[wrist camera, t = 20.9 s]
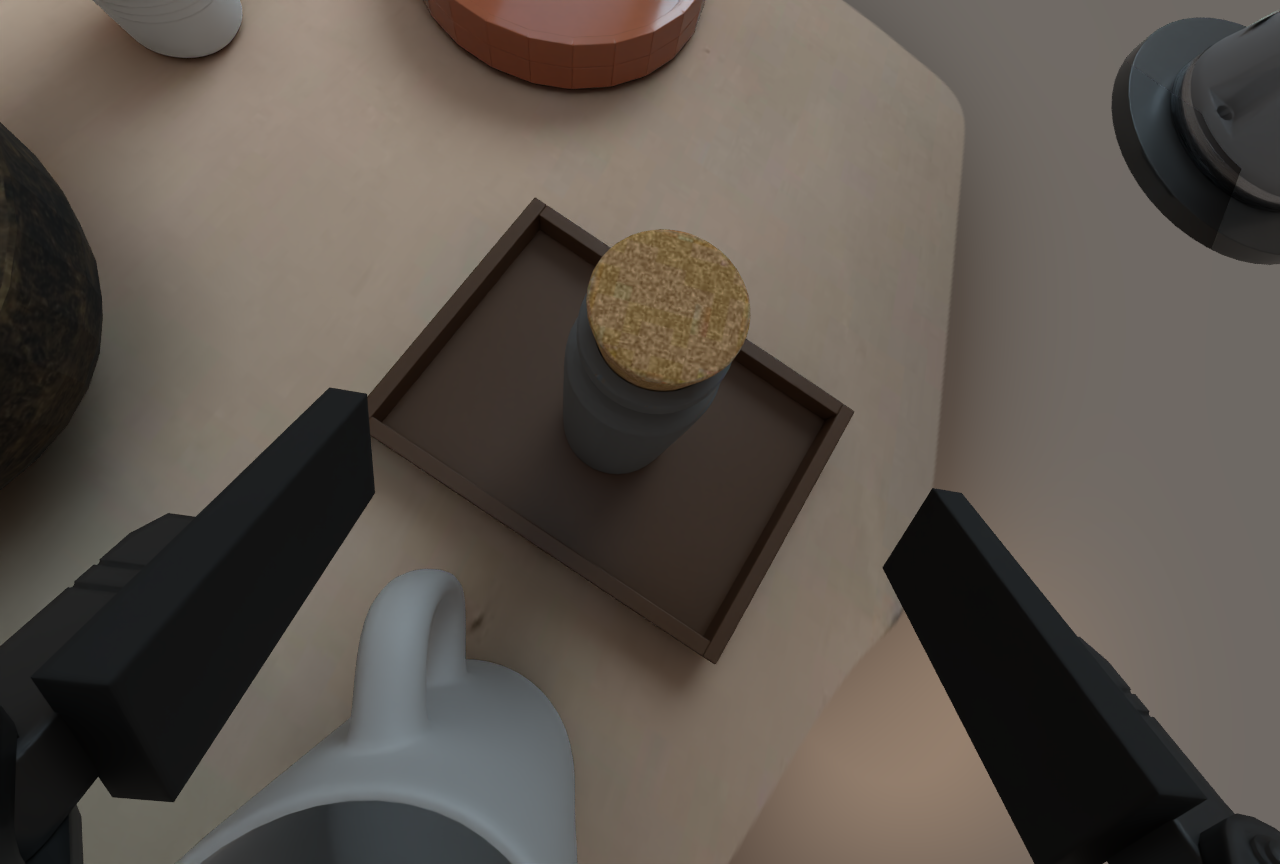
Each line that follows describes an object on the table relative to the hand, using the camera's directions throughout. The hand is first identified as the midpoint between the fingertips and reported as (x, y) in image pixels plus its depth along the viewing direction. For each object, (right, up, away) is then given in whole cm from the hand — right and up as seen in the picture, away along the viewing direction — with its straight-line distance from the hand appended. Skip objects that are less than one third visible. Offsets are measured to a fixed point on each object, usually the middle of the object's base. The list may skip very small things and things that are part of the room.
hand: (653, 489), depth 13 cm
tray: (-2, +2, +17) cm, 18 cm away
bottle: (-2, +2, +17) cm, 17 cm away
